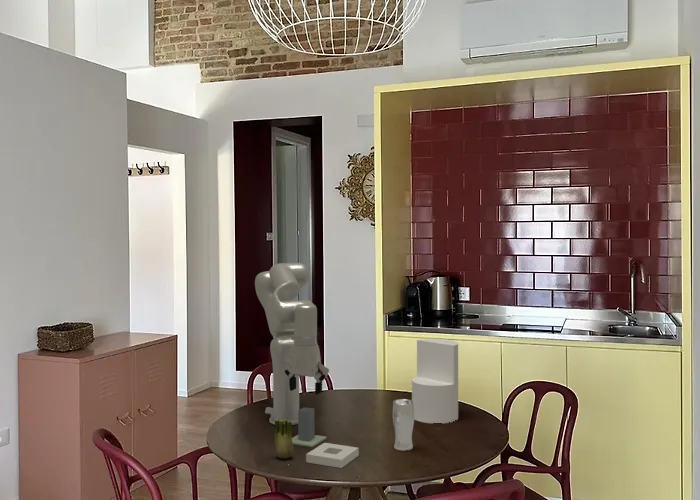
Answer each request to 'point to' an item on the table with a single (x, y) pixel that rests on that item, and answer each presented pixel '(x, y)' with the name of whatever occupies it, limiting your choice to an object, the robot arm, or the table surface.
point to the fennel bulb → (283, 439)
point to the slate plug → (306, 424)
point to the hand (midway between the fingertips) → (305, 391)
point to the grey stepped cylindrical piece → (436, 381)
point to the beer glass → (403, 423)
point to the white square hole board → (332, 455)
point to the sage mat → (308, 443)
